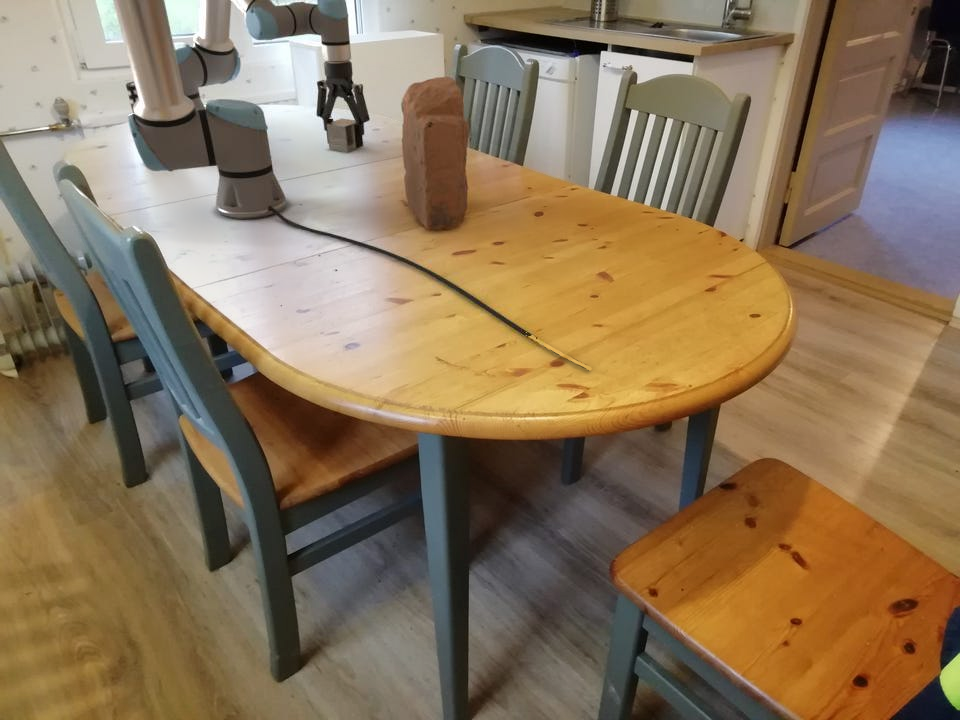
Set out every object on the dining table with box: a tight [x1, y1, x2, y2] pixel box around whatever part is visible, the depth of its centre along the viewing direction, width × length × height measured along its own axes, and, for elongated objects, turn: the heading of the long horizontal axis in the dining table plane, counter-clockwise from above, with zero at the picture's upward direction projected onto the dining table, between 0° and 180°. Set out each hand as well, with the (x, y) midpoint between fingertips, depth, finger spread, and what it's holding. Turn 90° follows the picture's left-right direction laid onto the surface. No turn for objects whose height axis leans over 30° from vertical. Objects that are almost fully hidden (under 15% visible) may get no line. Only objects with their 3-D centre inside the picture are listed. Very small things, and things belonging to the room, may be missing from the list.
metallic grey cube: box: [326, 117, 358, 153], centre depth 198 cm, size 6×7×7 cm
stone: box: [400, 76, 469, 231], centre depth 148 cm, size 22×11×28 cm, turn 18°
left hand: (345, 144), depth 199 cm, fingers open, 9 cm apart
